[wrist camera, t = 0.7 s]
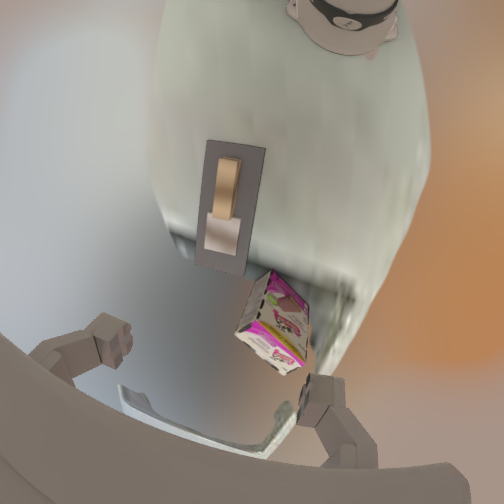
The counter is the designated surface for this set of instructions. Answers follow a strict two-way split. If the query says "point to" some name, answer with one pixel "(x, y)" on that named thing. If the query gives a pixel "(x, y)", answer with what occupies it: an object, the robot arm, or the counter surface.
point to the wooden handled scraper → (224, 209)
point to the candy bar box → (275, 324)
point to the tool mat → (243, 205)
